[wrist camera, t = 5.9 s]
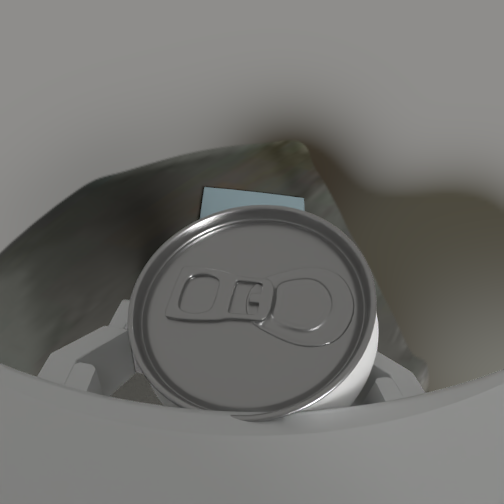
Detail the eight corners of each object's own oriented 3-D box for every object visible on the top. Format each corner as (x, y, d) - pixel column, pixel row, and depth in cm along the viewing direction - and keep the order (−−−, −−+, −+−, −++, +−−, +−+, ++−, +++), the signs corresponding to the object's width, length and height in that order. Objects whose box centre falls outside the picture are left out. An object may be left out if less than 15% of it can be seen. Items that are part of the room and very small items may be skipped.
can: (328, 458, 12) (396, 457, 3) (214, 443, 14) (74, 393, 5) (340, 355, 16) (380, 198, 7) (237, 346, 18) (167, 196, 9)
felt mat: (194, 269, 30) (194, 268, 30) (204, 189, 34) (204, 187, 33) (306, 278, 31) (307, 277, 31) (302, 199, 35) (303, 198, 35)
